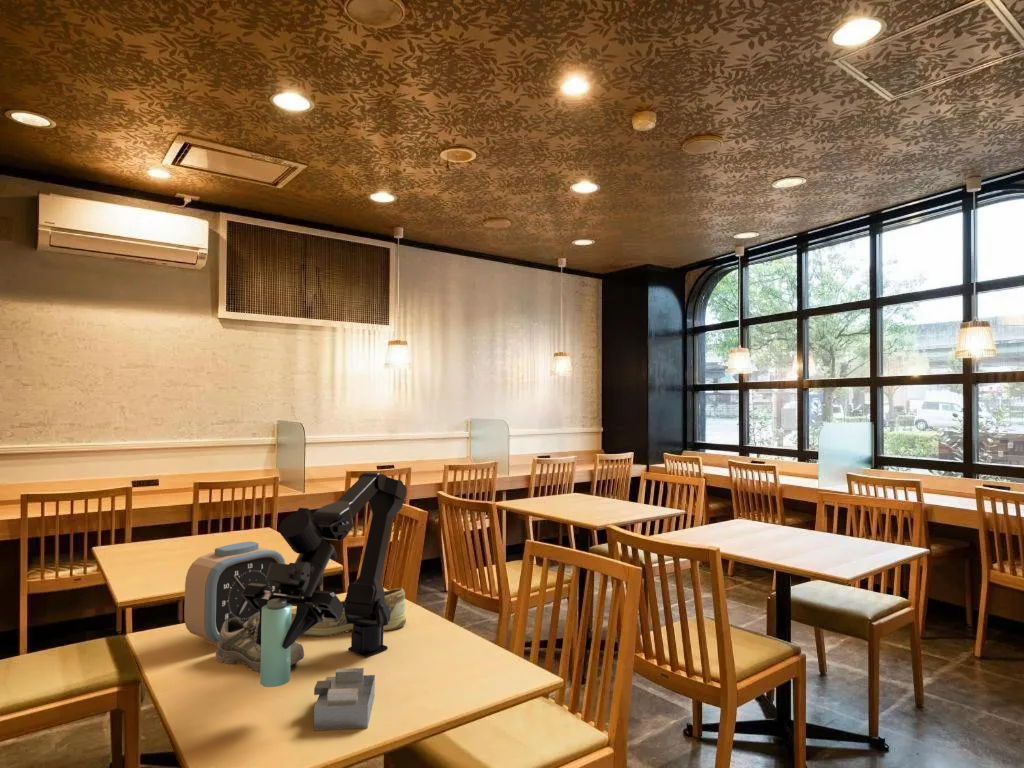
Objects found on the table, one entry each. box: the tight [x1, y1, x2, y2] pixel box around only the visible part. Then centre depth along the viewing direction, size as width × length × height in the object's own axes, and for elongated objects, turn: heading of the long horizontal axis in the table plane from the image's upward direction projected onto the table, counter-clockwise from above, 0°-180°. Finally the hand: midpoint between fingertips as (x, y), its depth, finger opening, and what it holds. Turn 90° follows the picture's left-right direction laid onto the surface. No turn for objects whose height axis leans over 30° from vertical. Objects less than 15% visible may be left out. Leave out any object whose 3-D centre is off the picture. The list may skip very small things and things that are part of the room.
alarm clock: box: [183, 541, 286, 647], centre depth 151 cm, size 21×10×22 cm, turn 148°
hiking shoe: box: [215, 612, 305, 673], centre depth 138 cm, size 9×21×12 cm
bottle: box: [259, 598, 293, 688], centre depth 113 cm, size 5×5×14 cm
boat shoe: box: [291, 587, 407, 637], centre depth 159 cm, size 11×30×9 cm, turn 105°
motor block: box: [313, 667, 376, 731], centre depth 115 cm, size 12×10×6 cm
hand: (271, 645), depth 111 cm, fingers closed on bottle, 5 cm apart
